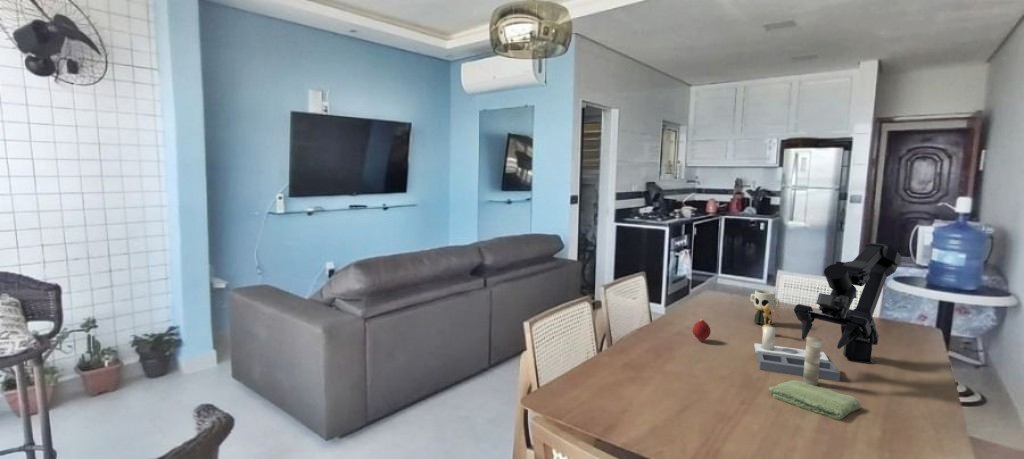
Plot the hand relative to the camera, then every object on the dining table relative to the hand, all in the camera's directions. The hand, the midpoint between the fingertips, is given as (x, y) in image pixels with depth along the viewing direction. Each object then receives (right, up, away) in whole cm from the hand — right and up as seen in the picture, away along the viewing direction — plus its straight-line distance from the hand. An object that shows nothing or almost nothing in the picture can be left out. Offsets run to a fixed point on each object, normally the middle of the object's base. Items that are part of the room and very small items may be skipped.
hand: (820, 343), depth 140 cm
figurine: (+5, -7, +40) cm, 41 cm away
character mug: (+11, -5, +54) cm, 55 cm away
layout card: (+3, -9, +21) cm, 23 cm away
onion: (-21, -7, +33) cm, 40 cm away
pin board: (-2, -10, +8) cm, 13 cm away
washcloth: (-10, -13, -13) cm, 21 cm away
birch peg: (-4, -11, -1) cm, 12 cm away
